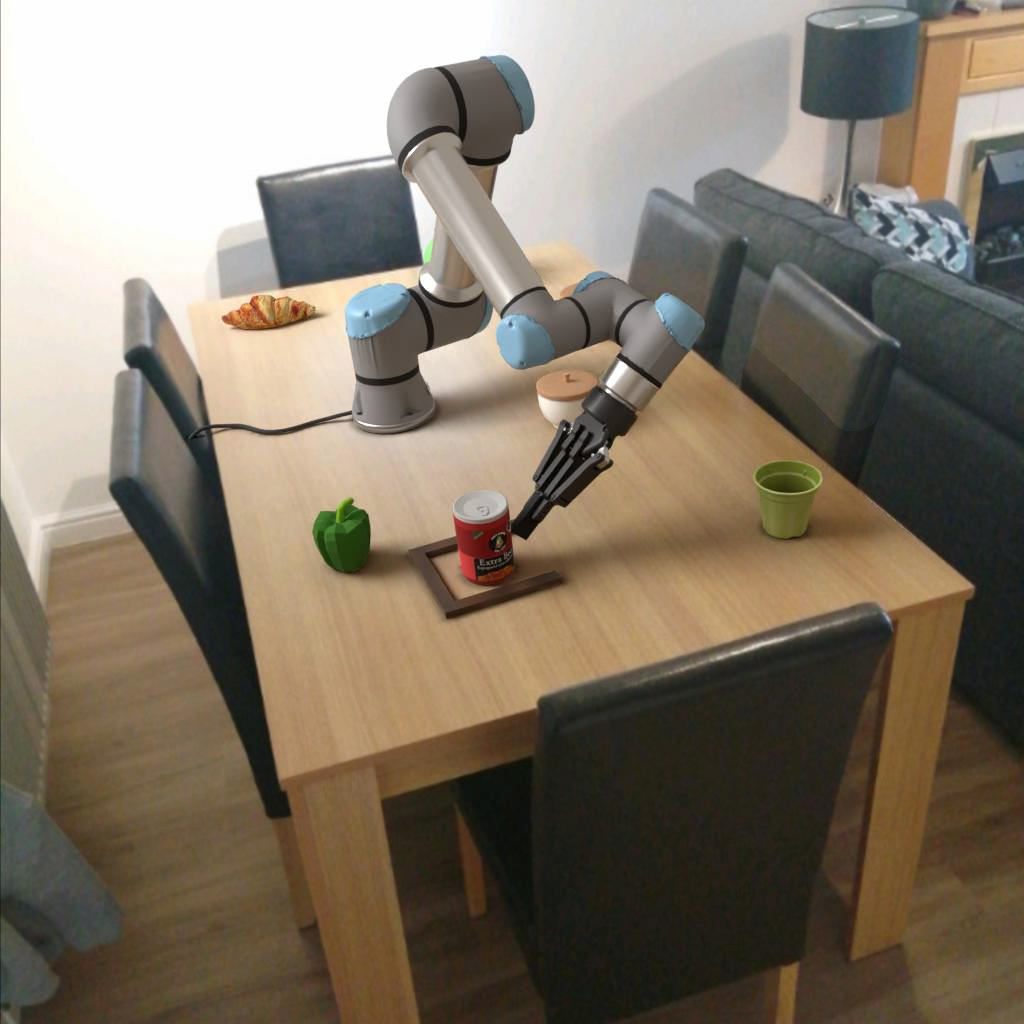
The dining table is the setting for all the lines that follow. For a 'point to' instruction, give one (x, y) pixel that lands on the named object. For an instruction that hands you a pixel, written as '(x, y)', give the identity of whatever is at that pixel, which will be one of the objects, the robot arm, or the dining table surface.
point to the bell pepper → (343, 536)
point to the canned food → (484, 536)
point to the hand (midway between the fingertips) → (517, 534)
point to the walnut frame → (477, 600)
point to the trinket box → (564, 394)
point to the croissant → (268, 312)
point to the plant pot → (786, 496)
